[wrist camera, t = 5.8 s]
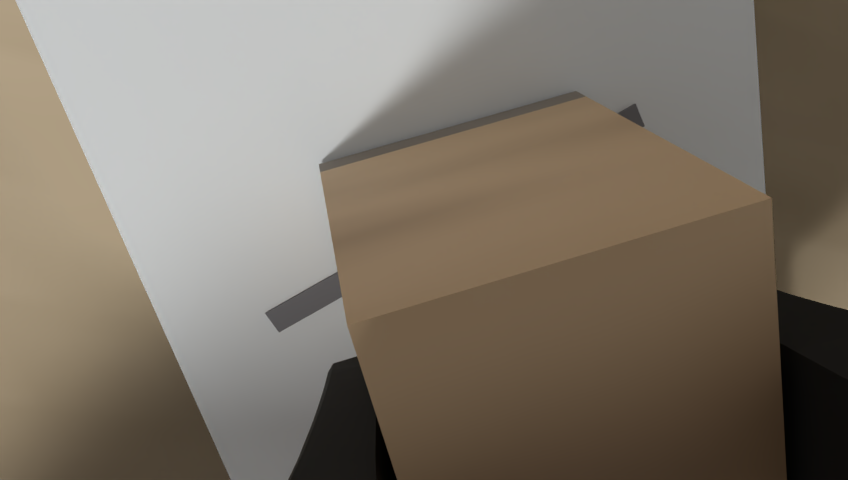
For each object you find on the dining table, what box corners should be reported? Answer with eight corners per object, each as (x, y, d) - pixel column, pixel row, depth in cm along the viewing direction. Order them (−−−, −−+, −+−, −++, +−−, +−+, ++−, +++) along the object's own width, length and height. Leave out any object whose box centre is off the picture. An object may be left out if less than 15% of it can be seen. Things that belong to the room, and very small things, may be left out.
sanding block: (633, 451, 14) (798, 695, 10) (427, 517, 14) (500, 799, 10) (576, 91, 12) (772, 198, 7) (318, 164, 11) (347, 325, 7)
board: (761, 588, 18) (793, 631, 17) (359, 726, 18) (365, 780, 17) (689, -287, 11) (736, -312, 10) (-2, -108, 10) (-36, -112, 9)
